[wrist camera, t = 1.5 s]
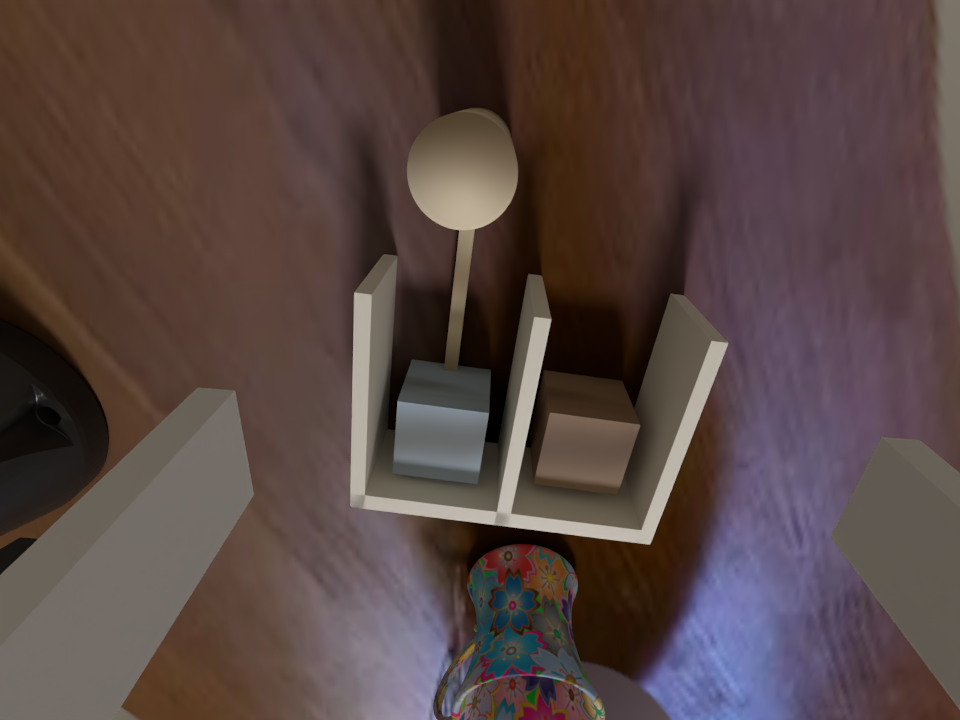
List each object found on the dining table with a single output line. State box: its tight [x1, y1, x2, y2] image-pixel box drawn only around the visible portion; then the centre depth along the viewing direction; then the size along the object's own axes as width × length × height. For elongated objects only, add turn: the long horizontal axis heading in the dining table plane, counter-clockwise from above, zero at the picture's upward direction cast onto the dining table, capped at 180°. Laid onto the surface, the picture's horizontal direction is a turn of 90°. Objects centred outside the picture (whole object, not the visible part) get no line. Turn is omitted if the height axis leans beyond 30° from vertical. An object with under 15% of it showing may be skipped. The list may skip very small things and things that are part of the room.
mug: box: [433, 544, 605, 720], centre depth 36 cm, size 12×9×11 cm
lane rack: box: [350, 254, 728, 545], centre depth 29 cm, size 13×17×6 cm
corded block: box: [393, 107, 518, 484], centre depth 25 cm, size 20×5×11 cm, turn 173°
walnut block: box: [530, 370, 641, 495], centre depth 31 cm, size 5×5×5 cm
